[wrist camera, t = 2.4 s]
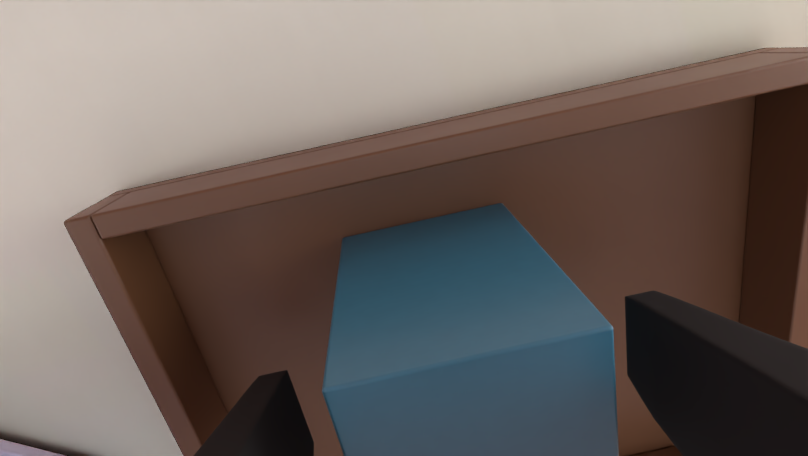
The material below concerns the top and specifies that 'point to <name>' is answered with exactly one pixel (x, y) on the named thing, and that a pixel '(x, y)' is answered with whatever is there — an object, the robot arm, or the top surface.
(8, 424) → the top surface
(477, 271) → the block
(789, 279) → the tray
